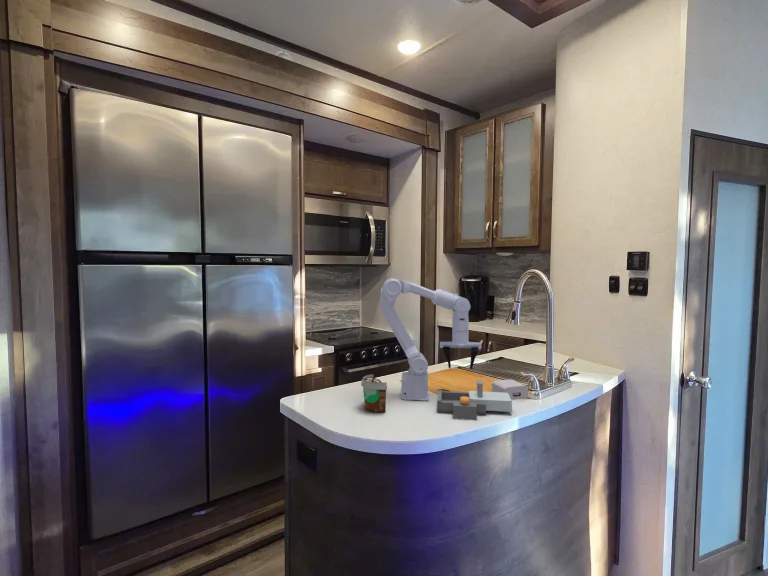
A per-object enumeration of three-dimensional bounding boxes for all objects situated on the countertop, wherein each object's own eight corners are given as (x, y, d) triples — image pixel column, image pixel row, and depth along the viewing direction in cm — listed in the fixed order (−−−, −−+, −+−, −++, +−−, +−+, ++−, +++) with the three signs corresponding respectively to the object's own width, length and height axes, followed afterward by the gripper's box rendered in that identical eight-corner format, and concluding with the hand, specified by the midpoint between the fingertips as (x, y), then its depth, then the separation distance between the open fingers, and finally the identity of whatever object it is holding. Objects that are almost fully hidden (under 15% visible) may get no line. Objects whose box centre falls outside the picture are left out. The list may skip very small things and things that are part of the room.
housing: (436, 417, 121) (436, 404, 120) (438, 400, 136) (438, 389, 136) (487, 420, 118) (487, 407, 118) (482, 403, 134) (482, 391, 134)
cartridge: (469, 409, 124) (470, 384, 124) (468, 400, 133) (468, 377, 133) (511, 411, 122) (512, 386, 122) (507, 402, 131) (508, 379, 130)
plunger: (460, 404, 120) (460, 398, 120) (460, 401, 123) (460, 396, 122) (469, 404, 119) (469, 399, 119) (469, 401, 122) (469, 396, 122)
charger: (505, 387, 154) (528, 398, 139) (483, 388, 151) (505, 400, 137) (505, 375, 153) (528, 385, 139) (484, 376, 151) (505, 387, 137)
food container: (355, 404, 133) (355, 375, 132) (372, 402, 135) (372, 373, 135) (369, 417, 121) (368, 385, 121) (387, 414, 124) (387, 382, 123)
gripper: (439, 331, 137) (439, 370, 138) (482, 332, 135) (482, 371, 135) (440, 328, 144) (440, 365, 145) (480, 329, 142) (480, 366, 142)
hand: (460, 368), depth 141 cm, fingers open, 7 cm apart
